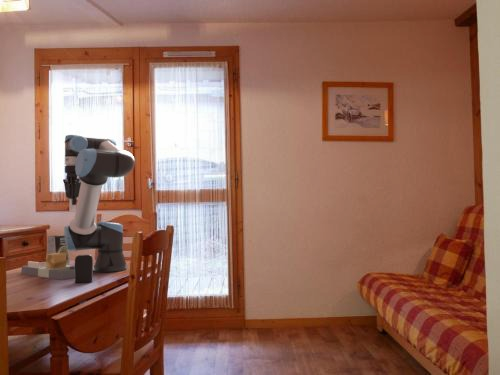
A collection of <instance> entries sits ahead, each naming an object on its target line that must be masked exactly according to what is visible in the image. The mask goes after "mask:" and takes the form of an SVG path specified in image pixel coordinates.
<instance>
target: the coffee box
mask: <svg viewBox="0 0 500 375" xmlns="http://www.w3.org/2000/svg"><path fill="white" fill-rule="evenodd" d="M46 242H47V243H46V244H47V245H46V254H53V253H65V254H66V265H70V250H68V249H67V247H66V243H65V235H64V234H57V235H47V241H46Z"/></svg>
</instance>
